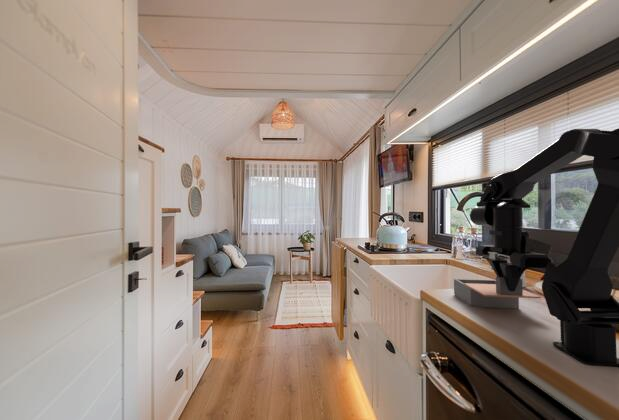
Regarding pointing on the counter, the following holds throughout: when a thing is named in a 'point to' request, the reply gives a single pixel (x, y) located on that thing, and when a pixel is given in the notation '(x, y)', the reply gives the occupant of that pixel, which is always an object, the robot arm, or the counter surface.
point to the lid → (501, 289)
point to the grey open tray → (480, 300)
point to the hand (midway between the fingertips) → (509, 289)
